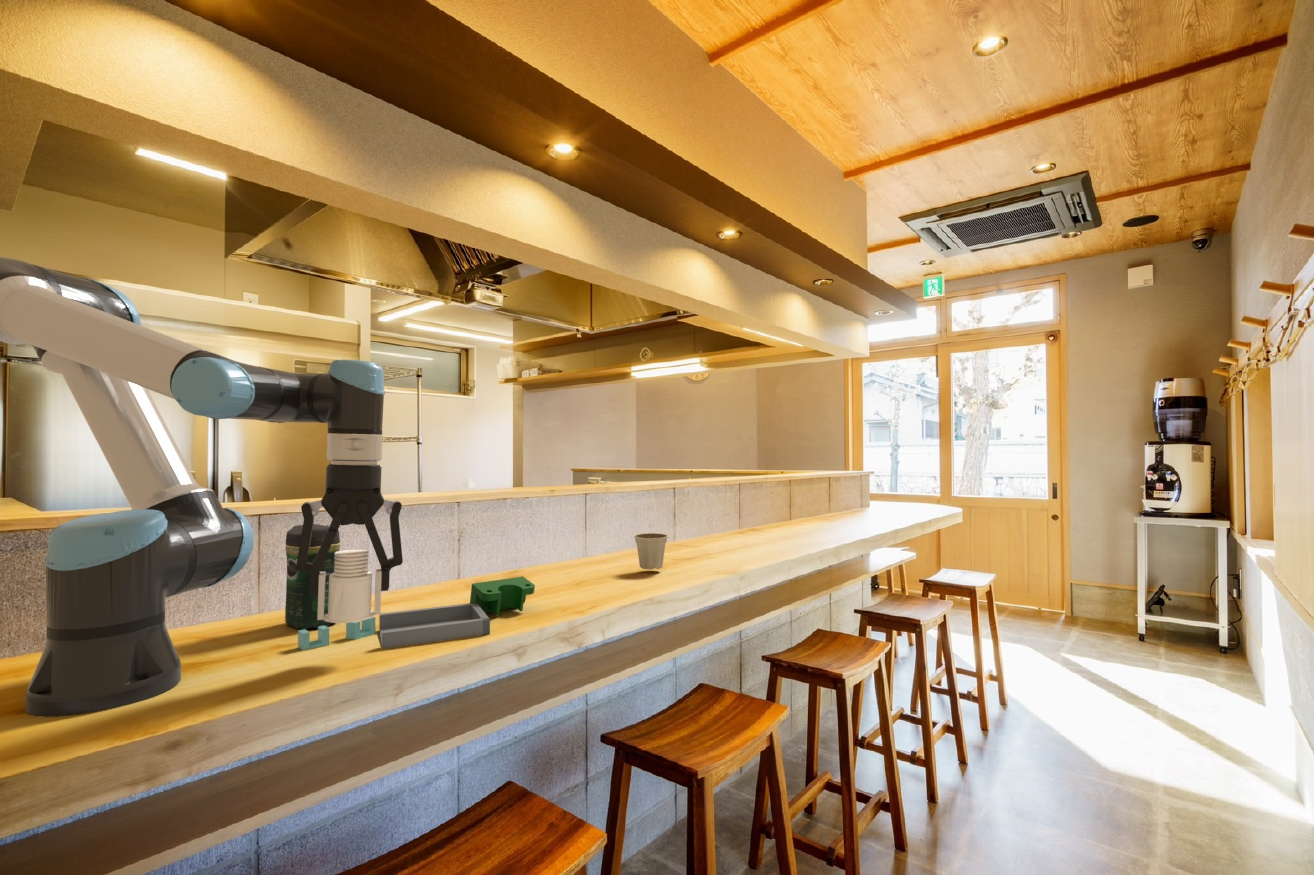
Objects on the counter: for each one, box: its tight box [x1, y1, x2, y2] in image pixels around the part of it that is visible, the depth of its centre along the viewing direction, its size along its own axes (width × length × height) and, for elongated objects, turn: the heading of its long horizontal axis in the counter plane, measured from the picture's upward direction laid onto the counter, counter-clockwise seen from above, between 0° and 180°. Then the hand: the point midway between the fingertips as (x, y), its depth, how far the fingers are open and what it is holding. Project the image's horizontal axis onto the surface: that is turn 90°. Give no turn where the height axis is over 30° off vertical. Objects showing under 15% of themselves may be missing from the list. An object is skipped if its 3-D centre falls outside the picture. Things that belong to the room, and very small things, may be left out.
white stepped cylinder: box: [323, 549, 376, 624], centre depth 92 cm, size 8×7×10 cm
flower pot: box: [633, 532, 669, 570], centre depth 165 cm, size 9×9×9 cm
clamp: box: [469, 576, 536, 616], centre depth 121 cm, size 12×6×9 cm, turn 127°
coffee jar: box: [284, 523, 341, 630], centre depth 114 cm, size 10×8×19 cm
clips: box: [297, 616, 377, 651], centre depth 103 cm, size 12×3×3 cm, turn 141°
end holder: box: [378, 602, 491, 650], centre depth 108 cm, size 17×13×3 cm
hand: (349, 614), depth 92 cm, fingers closed on white stepped cylinder, 7 cm apart
